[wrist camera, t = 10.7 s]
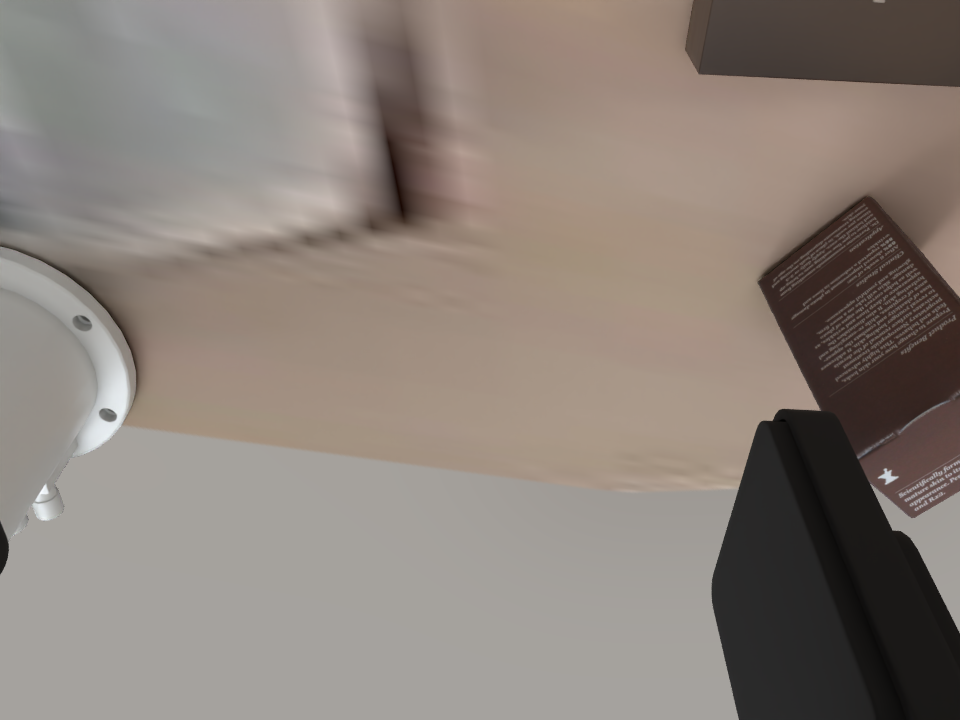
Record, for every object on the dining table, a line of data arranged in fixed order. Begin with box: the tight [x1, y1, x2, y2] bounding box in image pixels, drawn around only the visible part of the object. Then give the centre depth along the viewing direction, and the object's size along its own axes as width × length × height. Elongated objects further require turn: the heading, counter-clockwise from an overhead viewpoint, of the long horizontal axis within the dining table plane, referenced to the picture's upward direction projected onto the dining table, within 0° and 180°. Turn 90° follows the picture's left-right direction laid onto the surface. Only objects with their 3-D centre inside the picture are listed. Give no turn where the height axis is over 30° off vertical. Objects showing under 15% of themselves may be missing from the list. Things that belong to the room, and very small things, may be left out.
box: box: [758, 197, 960, 518], centre depth 33 cm, size 6×4×12 cm
